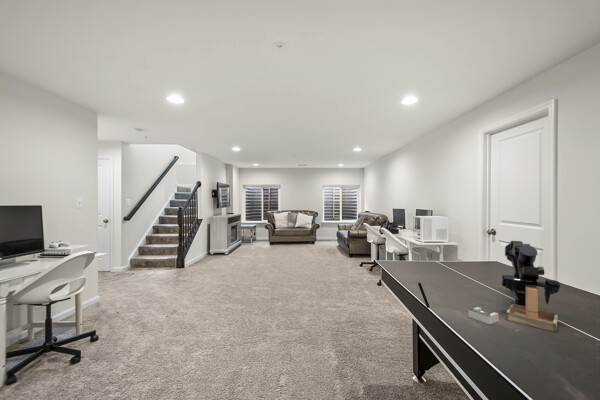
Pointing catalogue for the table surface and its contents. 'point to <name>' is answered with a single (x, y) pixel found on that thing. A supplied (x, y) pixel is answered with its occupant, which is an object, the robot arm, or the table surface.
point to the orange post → (531, 302)
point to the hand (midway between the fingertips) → (532, 301)
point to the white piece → (483, 315)
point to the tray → (544, 318)
